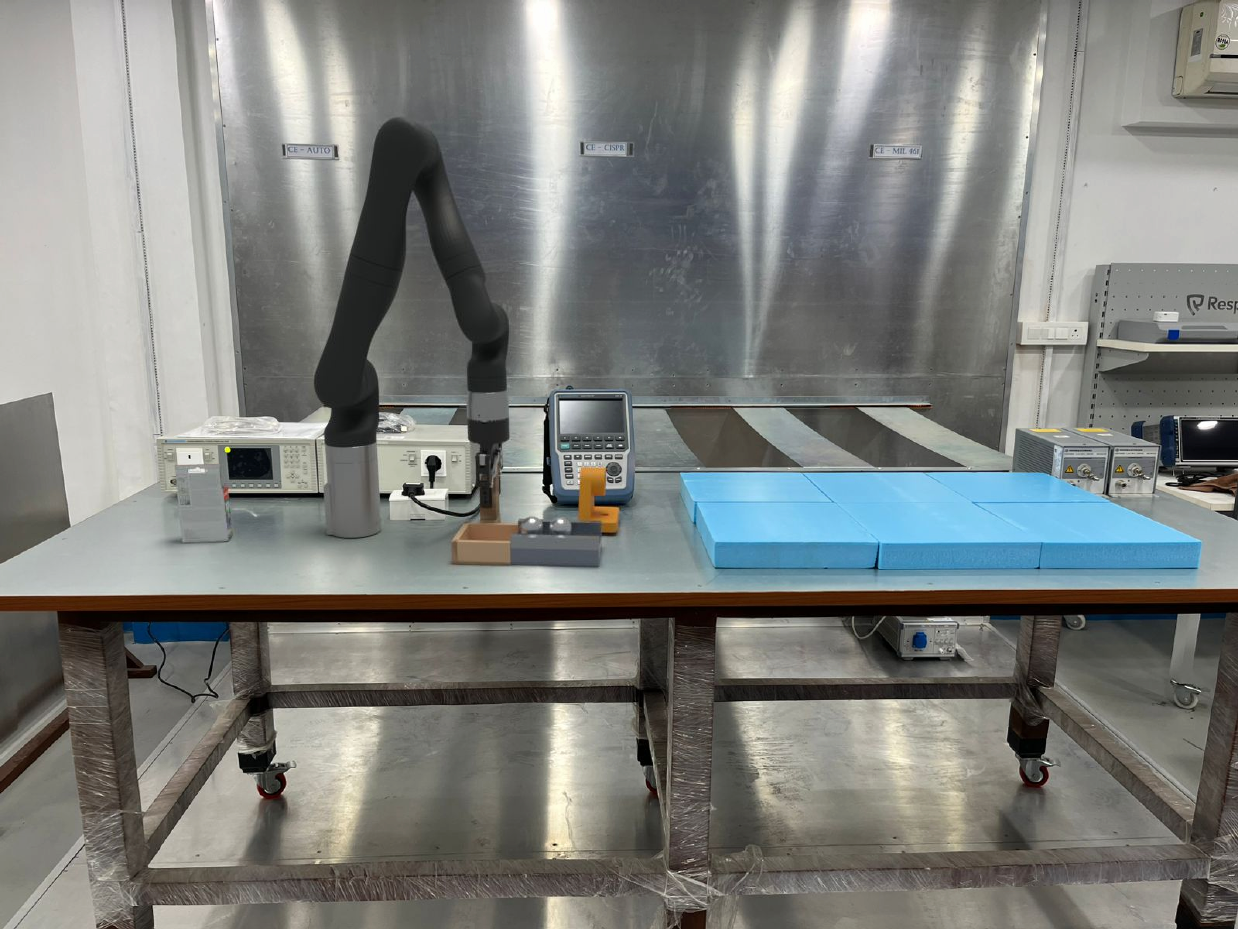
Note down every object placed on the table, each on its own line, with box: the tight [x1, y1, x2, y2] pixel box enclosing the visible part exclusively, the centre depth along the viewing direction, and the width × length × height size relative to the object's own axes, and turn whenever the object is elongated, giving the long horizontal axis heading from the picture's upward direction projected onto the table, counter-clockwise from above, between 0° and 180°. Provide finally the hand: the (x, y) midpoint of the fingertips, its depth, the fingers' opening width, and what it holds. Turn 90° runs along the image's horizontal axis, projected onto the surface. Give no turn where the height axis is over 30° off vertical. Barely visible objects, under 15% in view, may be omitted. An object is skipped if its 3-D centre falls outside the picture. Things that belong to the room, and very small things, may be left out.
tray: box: [450, 521, 518, 566], centre depth 148 cm, size 10×11×4 cm
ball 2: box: [549, 516, 572, 535], centre depth 147 cm, size 4×4×4 cm
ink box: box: [174, 463, 234, 544], centre depth 152 cm, size 4×8×15 cm, turn 100°
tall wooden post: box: [478, 463, 502, 523], centre depth 156 cm, size 3×6×14 cm, turn 178°
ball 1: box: [520, 516, 543, 535], centre depth 147 cm, size 4×4×4 cm
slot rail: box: [510, 518, 603, 568], centre depth 148 cm, size 15×10×5 cm
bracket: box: [577, 466, 620, 533], centre depth 164 cm, size 11×7×12 cm, turn 177°
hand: (490, 501), depth 156 cm, fingers open, 8 cm apart
